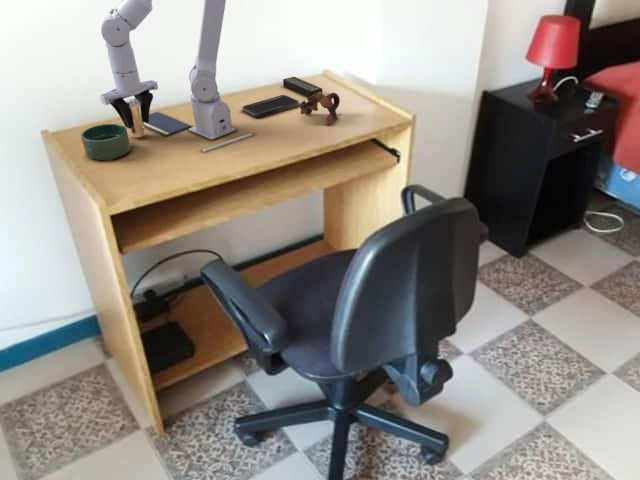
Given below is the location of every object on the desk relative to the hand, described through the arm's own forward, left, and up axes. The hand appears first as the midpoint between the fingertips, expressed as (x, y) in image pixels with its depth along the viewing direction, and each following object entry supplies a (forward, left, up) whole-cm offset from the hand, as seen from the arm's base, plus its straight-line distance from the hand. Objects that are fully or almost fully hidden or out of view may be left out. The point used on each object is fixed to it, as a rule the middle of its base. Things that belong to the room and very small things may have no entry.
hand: (137, 124), depth 146 cm
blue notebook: (+3, -9, -3) cm, 10 cm away
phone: (-11, -36, -3) cm, 37 cm away
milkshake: (0, 0, -3) cm, 3 cm away
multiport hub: (-8, -52, -4) cm, 52 cm away
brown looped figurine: (-27, -40, -4) cm, 48 cm away
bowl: (-2, +10, -3) cm, 11 cm away
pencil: (-20, -13, -4) cm, 24 cm away
